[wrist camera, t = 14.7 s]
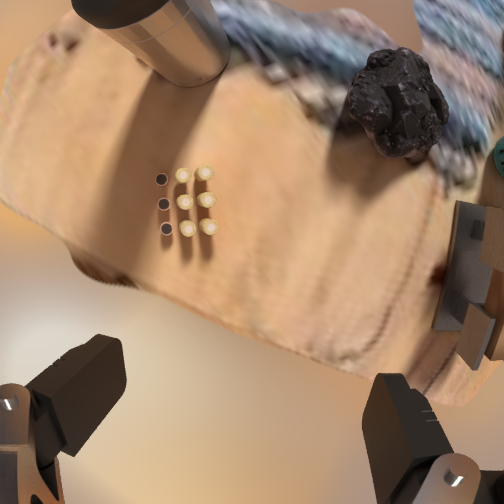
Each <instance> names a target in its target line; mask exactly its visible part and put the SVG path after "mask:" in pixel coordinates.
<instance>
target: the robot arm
mask: <svg viewBox="0 0 504 504" xmlns="http://www.w3.org/2000/svg"><path fill="white" fill-rule="evenodd" d="M71 2H72V6H73V8H74V10H75V12H76V13H77V14H78V15H79V16H80V17H81V18H83V19H84V20H86V21H87V22H89V23H90V24H92V25H93V26H95V27H96V28H98V29H99V30H101V31H102V32H103V33H105V34H106V35H108V36H109V37H111V38H112V39H114V40H115V41H116V42H118V43H119V44H121V45H122V46H123V47H125V48H126V49H128V50H129V51H130V52H132V53H133V54H134V55H136V56H137V57H138V58H140V59H141V60H143V61H144V62H145V63H146V64H148V65H149V66H150V67H152V68H153V69H154V70H156V71H157V72H158V73H160V74H161V75H162V76H163V77H165V78H166V79H167V80H169V81H170V82H172V83H173V84H175V85H179V86H182V87H193V86H198V85H202V84H205V83H207V82H209V81H210V80H212V79H214V78H215V77H216V76H218V75H219V74H220V73H221V71H222V70H223V69H224V68H225V66H226V64H227V63H228V60H229V57H230V50H231V49H230V43H229V41H228V39H227V36H226V34H225V32H224V30H223V28H222V24H221V22H220V20H219V18H218V16H217V14H216V12H215V10H214V8H213V6H212V4H211V2H210V0H71ZM126 381H127V379H126V371H125V365H124V357H123V350H122V344H121V341H120V340H119V339H117V338H113V337H109V336H105V335H101V334H97V335H95V336H94V337H93V338H91V339H90V340H89V341H88V342H86V343H85V344H82V345H80V346H78V347H75V348H73V349H70V350H69V351H68V352H66V353H65V354H64V355H63V356H61V357H60V359H57V360H56V361H55V362H54V363H53V365H50V366H49V367H48V368H46V369H45V370H44V371H43V372H42V373H40V374H39V375H38V376H37V377H35V378H34V379H33V380H32V381H30V383H28V384H27V385H26V386H22V385H19V384H13V383H10V384H4V385H1V386H0V504H65V501H64V496H63V490H62V483H61V476H60V468H59V461H58V458H57V455H58V453H59V452H60V451H62V452H64V453H66V454H68V455H70V456H72V457H75V455H76V454H77V453H78V451H79V450H80V449H81V448H82V446H83V445H84V444H85V442H86V441H87V440H88V439H89V437H90V436H91V434H92V433H93V432H94V431H95V429H96V428H97V427H98V426H99V424H100V423H101V422H102V420H103V419H104V418H105V417H106V415H107V414H108V413H109V412H110V410H111V409H112V408H113V406H114V405H115V404H116V403H117V401H118V400H119V399H120V398H121V396H122V395H123V393H124V391H125V388H126ZM362 430H363V435H364V440H365V444H366V449H367V454H368V458H369V463H370V468H371V473H372V478H373V483H374V489H375V494H376V499H377V504H504V470H503V471H485V470H480V469H479V467H478V465H477V464H476V463H475V462H474V461H473V460H472V459H471V458H469V457H467V456H465V455H462V454H458V453H454V451H453V449H452V447H451V445H450V443H449V441H448V439H447V437H446V435H445V433H444V431H443V429H442V427H441V425H440V423H439V421H437V417H436V415H435V413H434V412H432V408H431V406H430V404H429V402H428V400H427V398H426V397H425V396H423V395H422V394H421V393H420V392H419V391H418V390H416V389H410V387H409V385H408V383H407V381H406V379H405V377H404V376H403V374H401V373H378V374H377V375H376V377H375V380H374V383H373V386H372V389H371V392H370V395H369V398H368V401H367V404H366V407H365V409H364V413H363V418H362Z"/></svg>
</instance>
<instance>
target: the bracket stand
mask: <svg viewBox="0 0 504 504" xmlns="http://www.w3.org/2000/svg"><path fill="white" fill-rule="evenodd" d="M493 268H495V269H497V270H499V271H501V272H504V209H502V208H496V207H490V206H487V207H486V206H481V205H477V204H472V203H468V202H463V201H457V200H456V208H455V216H454V224H453V231H452V238H451V244H450V250H449V256H448V261H447V266H446V271H445V276H444V281H443V285H442V290H441V294H440V298H439V302H438V306H437V310H436V314H435V318H434V321H433V325H432V328H433V330H434V331H461V333H460V337H459V340H458V343H457V346H456V349H455V351H456V352H457V353H458V354H459V355H460V356H461V358H462V359H463V360H464V361H465V362H466V363H467V365H468V366H469V367H470V368H471V369H472V370H478V368H479V365H480V363H481V360H482V358H483V355H484V353H485V350H486V347H487V344H488V342H489V339H490V336H491V333H492V330H493V327H494V324H495V320H496V319H495V318H494V317H493V316H492V315H490V314H489V313H488V312H486V311H485V310H484V309H483V308H484V304H485V301H486V297H487V293H488V289H489V285H490V280H491V276H492V272H493Z"/></svg>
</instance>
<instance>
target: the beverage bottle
mask: <svg viewBox="0 0 504 504" xmlns="http://www.w3.org/2000/svg"><path fill="white" fill-rule="evenodd" d="M494 161H495V165H496V168H497V170H498V172H499V174H500V175H501V176H502V177H503V178H504V137H503V136H502V138H501V139H499V141H498V142H497V143H496V146H495V149H494Z"/></svg>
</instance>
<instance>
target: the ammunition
mask: <svg viewBox="0 0 504 504" xmlns="http://www.w3.org/2000/svg"><path fill="white" fill-rule="evenodd" d="M213 174H214V171H213V168H212V167H211V166H210V165H202V166H201V167H199V168H198V169H196V171H195V173H194V176H195V178H196V180H198V181H206V180H209V179H211V178H212V176H213ZM190 178H191V172H190V170H189V169H187V168H180V169H178V170H177V172H176V173H175V175H174V180H175V182H177V183H178V184H183V183H186V182H188V181H189V180H190ZM167 181H168V177H167V175H166V174H164V173H159V174H157V175H156V177H155V182H156V184H157V185H159V186H164V185H165V184H166V183H167ZM197 203H198V205H200V206H202V207H206V208H211V207H213V206H214V205H215V203H216V197H215V195H214V194H213V193H211V192H205V193H200V194H199V195H198V196H197ZM176 204H177V206H178V207H179V208H181V209H183V210H188V209H190V208H191V207H192V206H193V198H192V197H191V196H190V195H181V196H179V197H178V198H177V200H176ZM157 205H158V208H159V209H160V210H163V211H165V210H167V209H168V208H169V207H170V201H169V200H168V199H167V198H161V199H159V201H158V203H157ZM199 227H200V229H201V230H202V231H203V232H205V233H206V234H207V235H214V234H216V233H217V231H218V229H219V226H218V223H217V222H216V221H215V220H212V219H209V218H203V219H202V220H201V221H200V223H199ZM179 229H180V231H181V232H182V234H183V235H184V236H186V237H191V236H193V235H194V234H195V233H196V226H195V224H194V223H192V222H191V221H189V220H183V221H181V222H180V224H179ZM160 230H161V233H162V234H163V235H170V234H171V233H172V231H173V226H172V225H171V223H169V222H163V223H162V224H161V226H160Z"/></svg>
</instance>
